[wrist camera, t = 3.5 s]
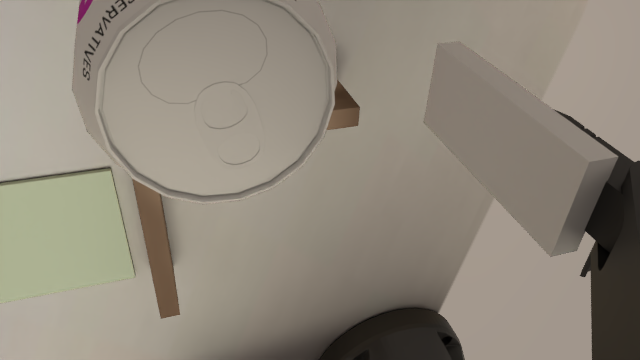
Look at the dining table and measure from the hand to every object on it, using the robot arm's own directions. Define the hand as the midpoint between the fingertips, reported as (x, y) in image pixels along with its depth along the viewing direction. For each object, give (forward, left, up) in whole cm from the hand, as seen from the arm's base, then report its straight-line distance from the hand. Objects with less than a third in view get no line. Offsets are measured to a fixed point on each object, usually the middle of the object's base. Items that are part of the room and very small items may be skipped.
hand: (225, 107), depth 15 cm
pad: (+10, +16, -16) cm, 24 cm away
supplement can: (0, 0, -16) cm, 16 cm away
